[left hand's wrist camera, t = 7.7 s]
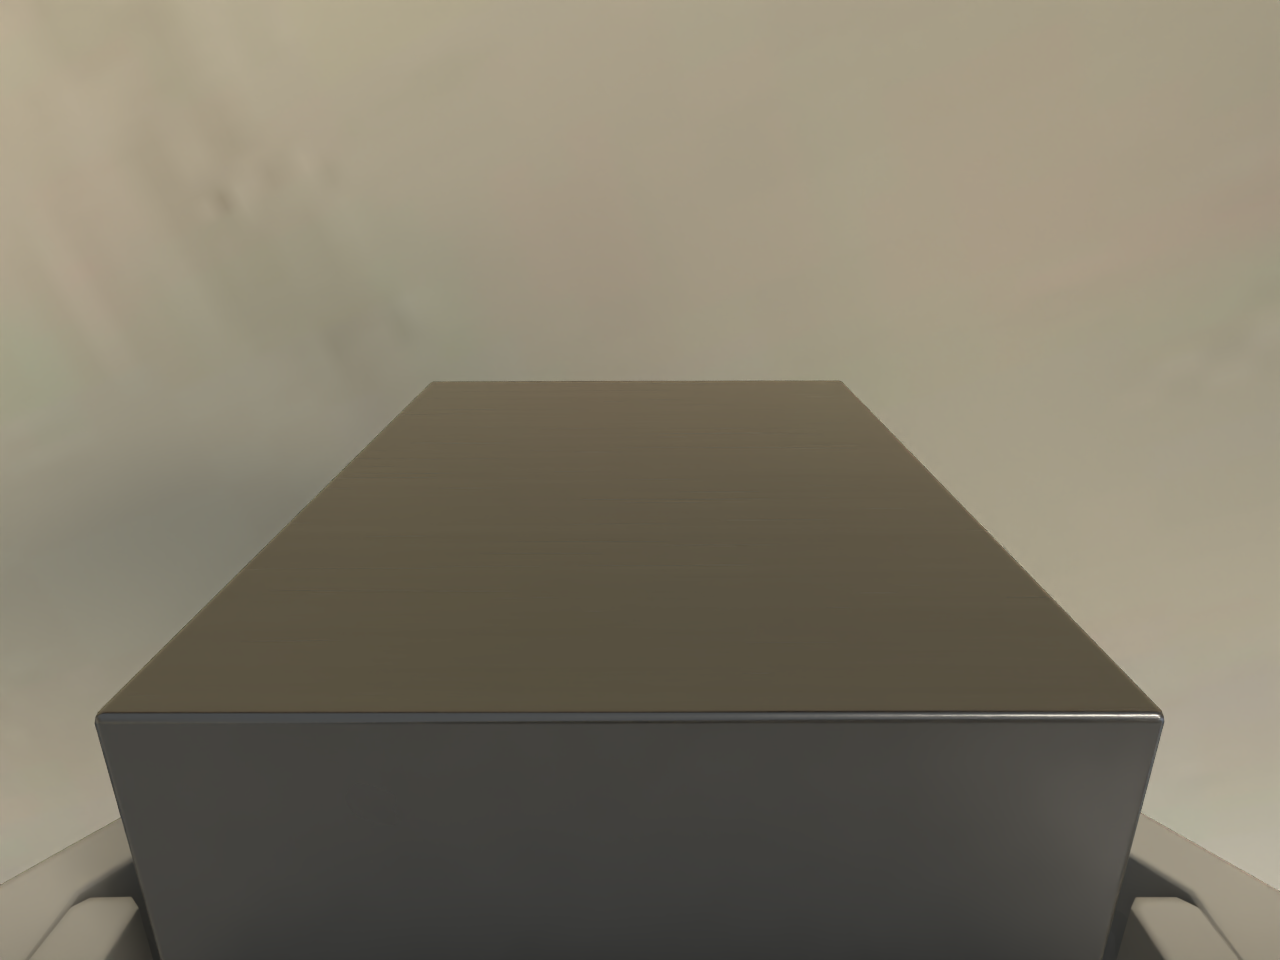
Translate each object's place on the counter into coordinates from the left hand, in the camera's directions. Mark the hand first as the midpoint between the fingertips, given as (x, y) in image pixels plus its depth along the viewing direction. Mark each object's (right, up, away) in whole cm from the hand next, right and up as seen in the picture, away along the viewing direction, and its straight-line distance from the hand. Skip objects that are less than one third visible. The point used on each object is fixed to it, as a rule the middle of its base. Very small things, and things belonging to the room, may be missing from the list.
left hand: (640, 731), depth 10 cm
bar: (0, -6, +5) cm, 8 cm away
